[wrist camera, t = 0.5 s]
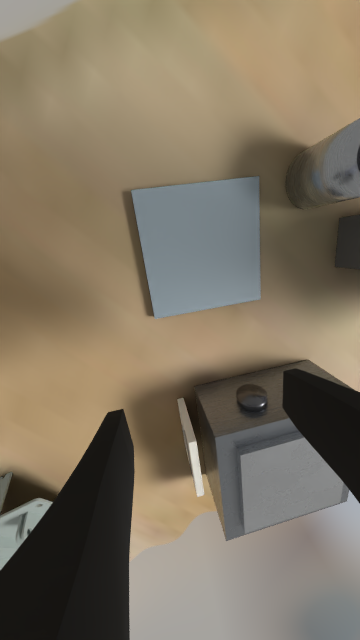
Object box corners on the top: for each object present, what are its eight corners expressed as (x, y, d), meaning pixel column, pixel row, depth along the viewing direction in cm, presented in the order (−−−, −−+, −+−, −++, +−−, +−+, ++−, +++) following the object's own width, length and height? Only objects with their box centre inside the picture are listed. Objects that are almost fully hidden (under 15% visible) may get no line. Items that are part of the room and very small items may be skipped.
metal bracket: (-157, 616, 15) (49, 515, 15) (-95, 509, 19) (61, 435, 20) (11, 603, 23) (138, 539, 24) (26, 532, 28) (132, 480, 28)
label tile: (183, 397, 21) (196, 440, 16) (191, 444, 23) (204, 494, 18) (176, 399, 21) (188, 443, 16) (184, 445, 23) (196, 497, 18)
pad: (254, 178, 16) (259, 176, 15) (256, 297, 19) (260, 299, 18) (131, 192, 15) (131, 190, 14) (154, 316, 18) (154, 318, 17)
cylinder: (335, 146, 16) (428, 98, 11) (330, 205, 18) (411, 188, 12) (286, 151, 16) (359, 103, 10) (284, 212, 17) (349, 196, 12)
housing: (308, 353, 22) (375, 395, 16) (302, 446, 26) (352, 508, 20) (193, 379, 20) (217, 437, 14) (206, 474, 25) (228, 549, 18)
